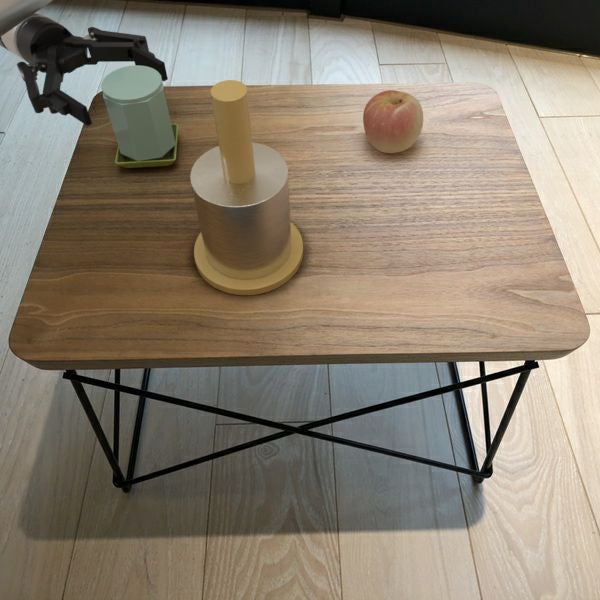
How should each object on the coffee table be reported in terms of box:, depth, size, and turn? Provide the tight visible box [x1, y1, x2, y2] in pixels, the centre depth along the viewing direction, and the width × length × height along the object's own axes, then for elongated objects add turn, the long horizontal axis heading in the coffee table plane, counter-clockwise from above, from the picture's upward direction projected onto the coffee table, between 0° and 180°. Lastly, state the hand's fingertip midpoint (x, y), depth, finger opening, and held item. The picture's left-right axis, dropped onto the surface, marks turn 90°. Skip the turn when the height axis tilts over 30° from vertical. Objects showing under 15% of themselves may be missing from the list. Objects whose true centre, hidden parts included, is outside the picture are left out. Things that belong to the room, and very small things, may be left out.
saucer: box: [114, 123, 179, 169], centre depth 91 cm, size 9×9×2 cm
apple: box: [362, 89, 424, 154], centre depth 89 cm, size 9×9×8 cm
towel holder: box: [189, 79, 304, 296], centre depth 70 cm, size 14×14×24 cm
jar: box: [101, 64, 176, 161], centre depth 86 cm, size 8×8×10 cm
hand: (127, 93), depth 85 cm, fingers open, 13 cm apart
